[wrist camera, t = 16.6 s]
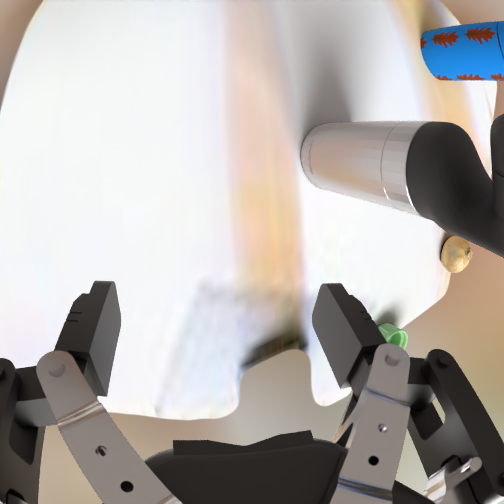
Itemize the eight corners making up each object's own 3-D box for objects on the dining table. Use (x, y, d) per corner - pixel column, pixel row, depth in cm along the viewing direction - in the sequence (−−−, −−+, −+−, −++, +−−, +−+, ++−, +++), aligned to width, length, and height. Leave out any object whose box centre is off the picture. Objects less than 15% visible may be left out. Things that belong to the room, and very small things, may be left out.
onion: (456, 250, 59) (479, 260, 53) (439, 274, 58) (463, 286, 52) (451, 225, 55) (477, 234, 49) (433, 249, 55) (459, 260, 48)
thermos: (419, 21, 37) (531, 7, 15) (449, 46, 41) (549, 44, 20) (419, 66, 40) (543, 64, 18) (449, 89, 44) (557, 96, 22)
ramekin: (355, 361, 55) (369, 373, 52) (369, 322, 53) (385, 334, 49) (385, 353, 59) (398, 364, 55) (398, 317, 56) (413, 327, 53)
